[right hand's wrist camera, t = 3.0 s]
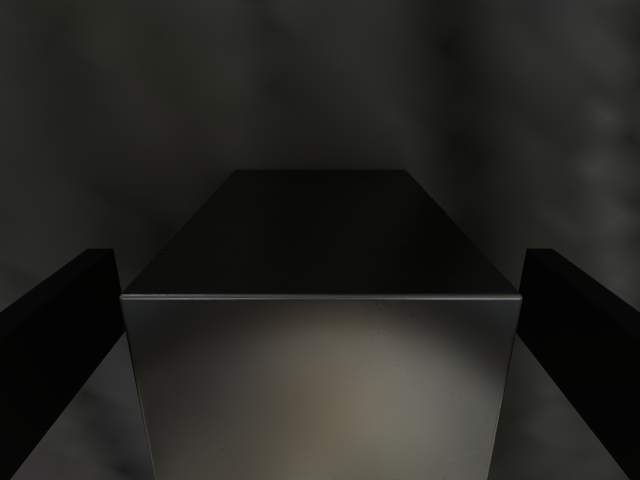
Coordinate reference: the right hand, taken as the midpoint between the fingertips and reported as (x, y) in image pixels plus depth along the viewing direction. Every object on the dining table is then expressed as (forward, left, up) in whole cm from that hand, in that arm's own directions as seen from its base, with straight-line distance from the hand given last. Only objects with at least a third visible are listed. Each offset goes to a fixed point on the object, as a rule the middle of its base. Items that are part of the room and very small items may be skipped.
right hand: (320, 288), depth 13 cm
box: (+5, +5, -2) cm, 7 cm away
